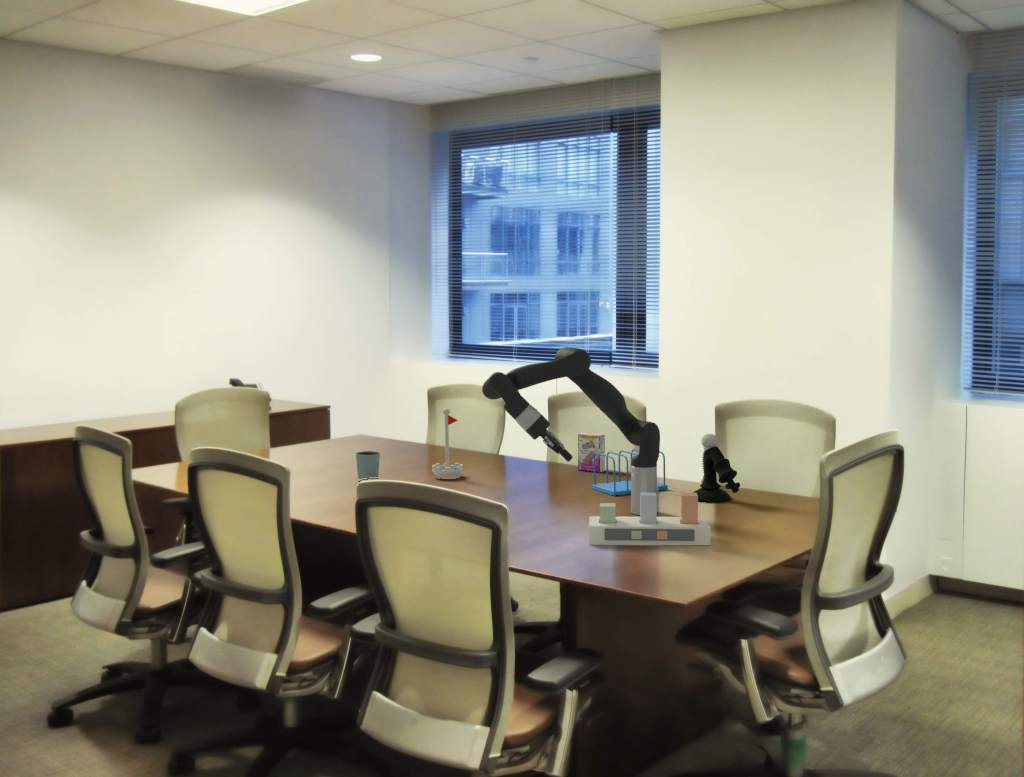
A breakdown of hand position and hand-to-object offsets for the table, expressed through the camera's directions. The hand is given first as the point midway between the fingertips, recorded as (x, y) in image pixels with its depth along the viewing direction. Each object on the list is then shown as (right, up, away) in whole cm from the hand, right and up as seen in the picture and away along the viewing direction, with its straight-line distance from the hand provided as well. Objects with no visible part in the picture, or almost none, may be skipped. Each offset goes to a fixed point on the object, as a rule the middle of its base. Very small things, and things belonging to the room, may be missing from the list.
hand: (570, 459), depth 334 cm
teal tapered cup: (-80, -16, +106) cm, 134 cm away
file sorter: (+28, -18, +82) cm, 88 cm away
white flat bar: (+25, -26, +1) cm, 36 cm away
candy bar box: (+16, -14, +122) cm, 124 cm away
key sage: (+12, -25, +2) cm, 28 cm away
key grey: (+25, -21, 0) cm, 33 cm away
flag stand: (-47, -16, +112) cm, 122 cm away
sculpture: (+59, -20, +58) cm, 85 cm away
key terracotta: (+38, -21, -1) cm, 43 cm away
